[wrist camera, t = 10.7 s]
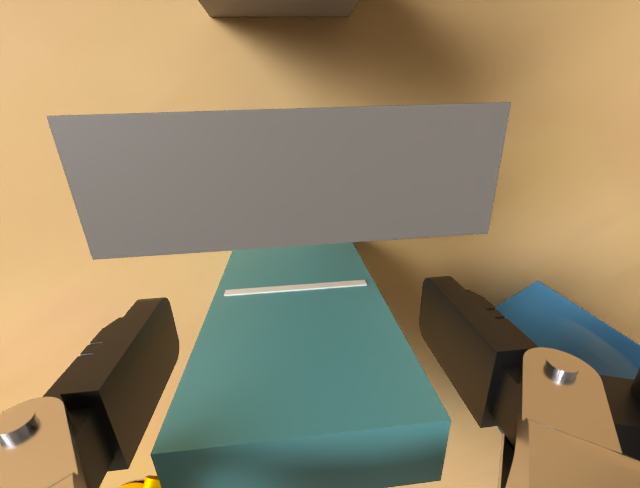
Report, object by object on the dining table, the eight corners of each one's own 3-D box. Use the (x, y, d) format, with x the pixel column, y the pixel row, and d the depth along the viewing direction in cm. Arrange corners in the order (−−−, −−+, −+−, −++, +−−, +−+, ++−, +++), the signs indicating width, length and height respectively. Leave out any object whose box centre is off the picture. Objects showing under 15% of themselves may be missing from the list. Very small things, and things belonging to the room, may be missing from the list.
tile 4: (348, 114, 13) (511, 96, 4) (348, 157, 13) (488, 237, 4) (223, 118, 12) (44, 110, 3) (229, 162, 13) (93, 263, 4)
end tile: (346, 230, 15) (451, 418, 5) (346, 263, 15) (440, 482, 6) (237, 237, 14) (149, 451, 5) (242, 270, 15) (171, 517, 6)
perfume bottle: (572, 351, 19) (973, 672, 8) (483, 403, 20) (733, 759, 9) (537, 280, 17) (1022, 587, 6) (438, 342, 18) (696, 713, 7)
